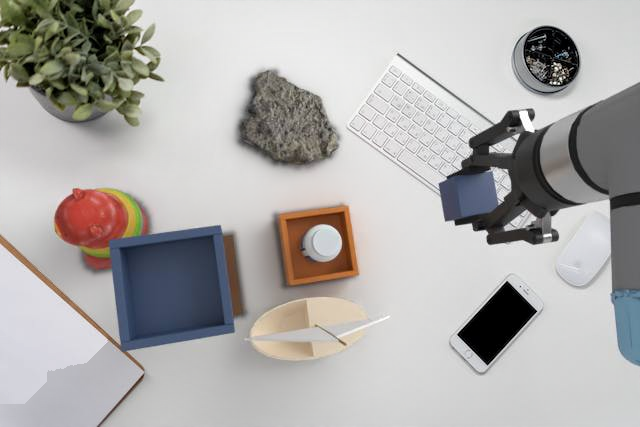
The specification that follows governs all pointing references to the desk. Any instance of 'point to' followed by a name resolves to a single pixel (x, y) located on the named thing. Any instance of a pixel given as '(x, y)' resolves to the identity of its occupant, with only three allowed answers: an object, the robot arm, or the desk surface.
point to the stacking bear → (98, 222)
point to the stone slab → (288, 122)
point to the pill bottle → (320, 243)
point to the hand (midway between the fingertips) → (460, 199)
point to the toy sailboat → (309, 328)
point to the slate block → (468, 195)
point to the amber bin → (307, 271)
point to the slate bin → (174, 286)
